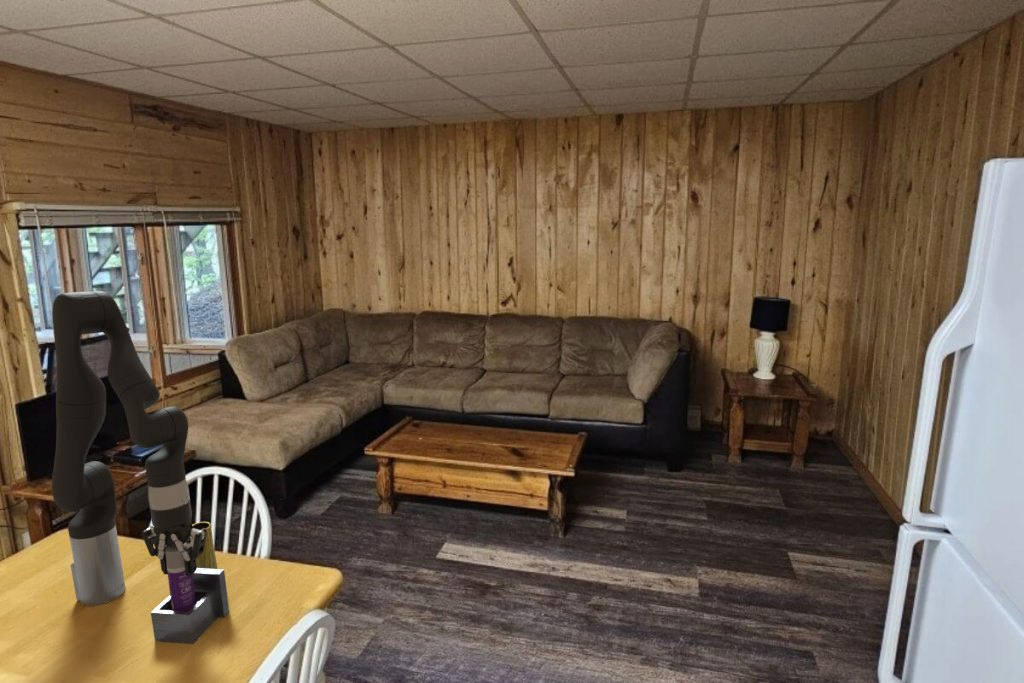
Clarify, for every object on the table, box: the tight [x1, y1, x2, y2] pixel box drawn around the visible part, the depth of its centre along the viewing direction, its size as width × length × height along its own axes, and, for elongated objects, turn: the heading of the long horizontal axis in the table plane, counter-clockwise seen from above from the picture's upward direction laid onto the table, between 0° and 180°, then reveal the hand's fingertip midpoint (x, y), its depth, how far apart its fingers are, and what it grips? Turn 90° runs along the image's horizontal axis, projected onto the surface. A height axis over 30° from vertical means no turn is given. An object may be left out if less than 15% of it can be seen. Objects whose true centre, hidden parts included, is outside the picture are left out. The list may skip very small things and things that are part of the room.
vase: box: [191, 521, 219, 569], centre depth 155 cm, size 6×6×14 cm
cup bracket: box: [150, 568, 230, 645], centre depth 137 cm, size 12×11×11 cm
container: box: [165, 543, 196, 612], centre depth 135 cm, size 5×5×15 cm
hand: (179, 572), depth 134 cm, fingers closed on container, 4 cm apart
